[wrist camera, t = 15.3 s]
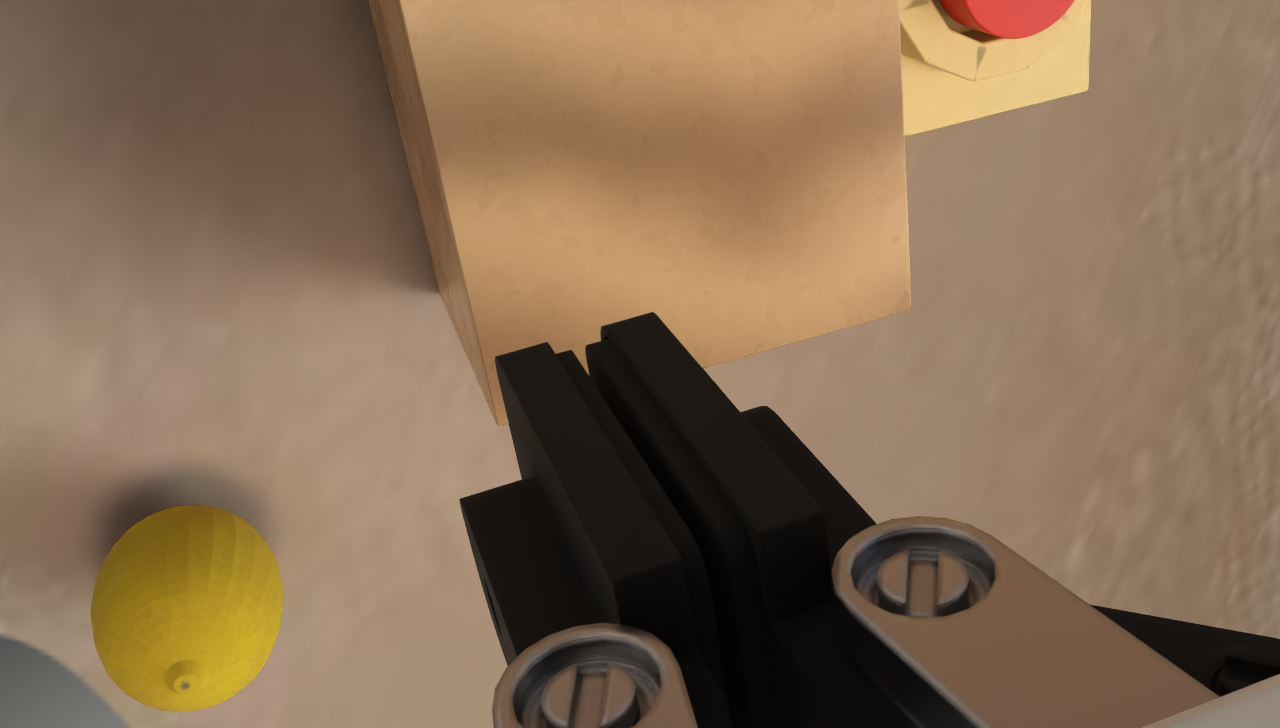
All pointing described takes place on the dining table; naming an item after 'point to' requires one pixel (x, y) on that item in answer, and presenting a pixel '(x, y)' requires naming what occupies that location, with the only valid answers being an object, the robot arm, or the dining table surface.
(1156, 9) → the dining table surface
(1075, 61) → the button box
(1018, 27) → the red button
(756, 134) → the cabinet
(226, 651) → the lemon
